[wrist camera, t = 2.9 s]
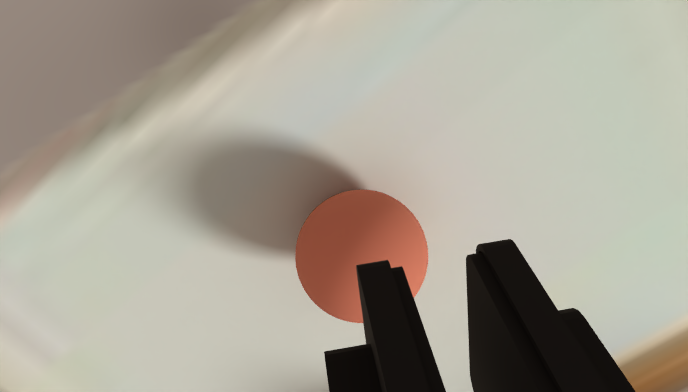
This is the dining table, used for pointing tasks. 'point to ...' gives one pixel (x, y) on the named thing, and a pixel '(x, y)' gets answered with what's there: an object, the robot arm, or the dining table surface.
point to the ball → (357, 248)
